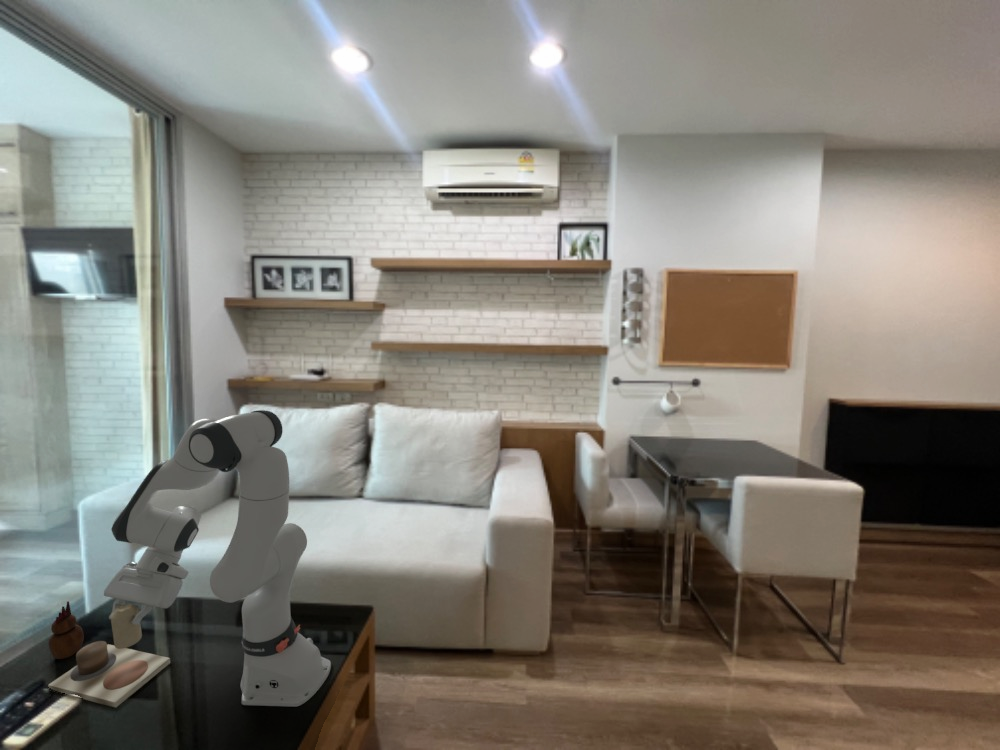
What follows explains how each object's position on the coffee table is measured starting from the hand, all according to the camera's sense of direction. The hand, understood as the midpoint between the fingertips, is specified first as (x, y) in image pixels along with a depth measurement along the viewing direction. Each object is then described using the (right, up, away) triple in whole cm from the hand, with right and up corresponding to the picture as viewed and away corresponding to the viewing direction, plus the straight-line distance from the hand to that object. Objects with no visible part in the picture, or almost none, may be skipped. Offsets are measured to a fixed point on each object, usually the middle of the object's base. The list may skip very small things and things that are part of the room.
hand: (123, 621), depth 112 cm
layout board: (-5, -16, +3) cm, 17 cm away
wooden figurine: (-24, -15, +10) cm, 30 cm away
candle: (0, -6, +2) cm, 6 cm away
